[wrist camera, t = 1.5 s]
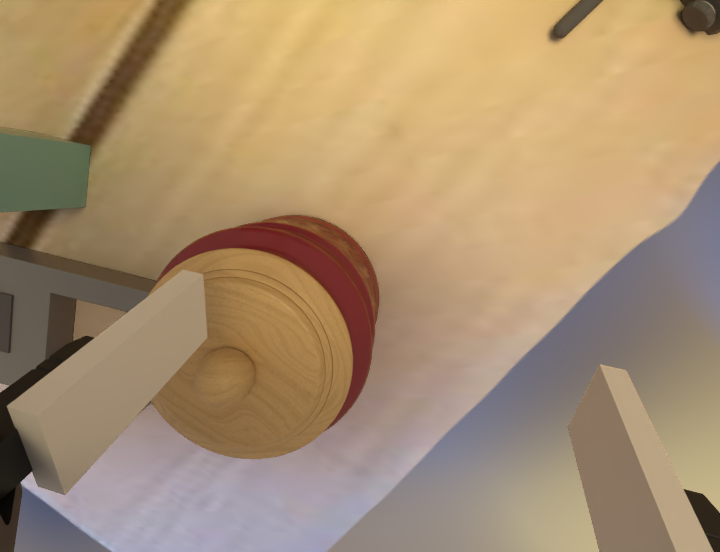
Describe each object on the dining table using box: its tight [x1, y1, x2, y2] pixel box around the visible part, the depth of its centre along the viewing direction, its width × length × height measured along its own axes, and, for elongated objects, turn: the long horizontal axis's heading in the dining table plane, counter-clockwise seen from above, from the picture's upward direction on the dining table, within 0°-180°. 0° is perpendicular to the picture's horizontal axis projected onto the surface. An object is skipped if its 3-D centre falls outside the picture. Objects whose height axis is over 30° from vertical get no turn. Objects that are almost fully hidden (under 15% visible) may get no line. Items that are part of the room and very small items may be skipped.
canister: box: [148, 215, 379, 459], centre depth 27 cm, size 13×13×18 cm
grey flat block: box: [0, 242, 157, 410], centre depth 36 cm, size 18×11×3 cm, turn 77°
